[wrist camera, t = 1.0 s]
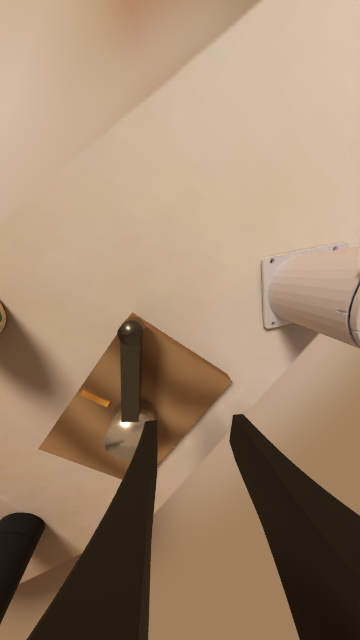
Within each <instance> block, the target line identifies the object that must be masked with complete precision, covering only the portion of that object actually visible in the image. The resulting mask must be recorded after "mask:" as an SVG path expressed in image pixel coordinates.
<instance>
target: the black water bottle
mask: <svg viewBox="0 0 360 640" xmlns="http://www.w3.org/2000/svg"><path fill="white" fill-rule="evenodd" d="M43 531H44V523H43V521H42V520H41V519H40V518H39V517H37V516H35V515H32V514H27V513H15V514H10V515H8V516H6V517H4V518H2V519H1V520H0V624H1V621H2V619H3V617H4V615H5V613H6V610H7V608H8V606H9V604H10V602H11V600H12V598H13V595H14V593H15V591H16V589H17V587H18V585H19V582H20V580H21V578H22V576H23V574H24V572H25V570H26V567H27V565H28V563H29V561H30V559H31V557H32V554H33V552H34V550H35V548H36V546H37V544H38V541H39V539H40V537H41V535H42V533H43Z"/></svg>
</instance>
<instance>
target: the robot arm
mask: <svg viewBox="0 0 360 640" xmlns="http://www.w3.org/2000/svg"><path fill="white" fill-rule="evenodd" d="M333 248H334V251H333ZM271 259H272V263H270V260H271ZM261 271H262V298H263V325H264V327H265V328H267V329H270V328H275V327H280V326H284V325H289V324H294V323H296V324H298V325H301V326H303V327H306V328H308V329H311V330H314V331H316V332H319V333H321V334H324V335H326V336H329V337H332V338H334V339H337V340H339V341H342V342H344V343H347V344H350V345H352V346H355V347H358V348H360V247H359V248H351V249H348V243H346V242H343V243H337V244H332V245H327V246H322V247H316V248H311V249H306V250H301V251H296V252H290V253H285V254H280V255H275V256H269V257H265V258H263V259H262V261H261ZM272 322H274V323H273V325H271V323H272ZM230 445H231V448H232V451H233V454H234V458H235V461H236V463H237V466H238V468H239V470H240V473H241V475H242V478H243V480H244V483H245V485H246V487H247V490H248V492H249V495H250V497H251V499H252V502H253V504H254V506H255V509H256V511H257V514H258V516H259V519H260V521H261V523H262V526H263V529H264V532H265V535H266V537H267V540H268V543H269V546H270V549H271V552H272V555H273V558H274V561H275V564H276V567H277V570H278V573H279V576H280V579H281V582H282V585H283V588H284V591H285V594H286V597H287V600H288V604H289V607H290V610H291V613H292V616H293V619H294V623H295V626H296V629H297V632H298V635H299V638H300V640H360V516H359V515H358V514H356V513H355V512H354V511H352V510H351V509H350V508H348V507H347V506H345V505H344V504H343V503H341V502H340V501H339V500H338V499H336V498H335V497H334V496H332V495H331V494H330V493H328V492H327V491H326V490H325V489H323V488H322V487H321V486H320V485H318V484H317V483H316V482H315V481H313V480H312V479H311V478H310V477H309V476H307V475H306V474H305V473H304V472H303V471H301V470H300V469H299V468H298V467H297V466H296V465H295V464H293V463H292V462H291V461H290V460H289V459H288V458H287V457H286V456H285V455H284V454H282V453H281V452H280V451H279V450H278V449H277V448H276V447H275V446H274V445H273V444H272V443H271V442H270V441H269V440H268V439H267V438H266V437H265V436H264V435H263V434H262V433H261V432H260V431H259V430H258V429H257V428H256V427H255V426H254V425H253V424H252V423H251V422H250V421H249V420H248V419H247V418H246V417H245V416H244V415H243V414H237V415H233V419H232V426H231V433H230ZM157 456H158V436H157V420H151V421H146V422H145V423H144V427H143V431H142V434H141V437H140V440H139V443H138V445H137V448H136V450H135V453H134V455H133V458H132V460H131V462H130V465H129V467H128V469H127V471H126V473H125V476H124V478H123V480H122V482H121V484H120V486H119V488H118V490H117V492H116V494H115V496H114V498H113V500H112V502H111V504H110V506H109V508H108V509H107V511H106V513H105V515H104V517H103V519H102V520H101V522H100V524H99V526H98V527H97V529H96V531H95V533H94V534H93V536H92V538H91V540H90V541H89V543H88V545H87V546H86V548H85V550H84V551H83V553H82V555H81V556H80V558H79V560H78V561H77V563H76V564H75V566H74V568H73V569H72V571H71V572H70V574H69V576H68V577H67V579H66V580H65V582H64V584H63V585H62V587H61V588H60V590H59V592H58V593H57V595H56V596H55V598H54V599H53V601H52V602H51V604H50V606H49V607H48V609H47V610H46V612H45V613H44V615H43V616H42V618H41V619H40V621H39V622H38V624H37V625H36V626H35V628H34V630H33V631H32V632H31V634H30V636H29V637H28V639H27V640H148V626H149V592H150V591H149V590H150V561H151V538H152V524H153V513H154V502H155V490H156V479H157Z"/></svg>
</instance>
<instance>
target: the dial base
mask: <svg viewBox="0 0 360 640" xmlns="http://www.w3.org/2000/svg"><path fill="white" fill-rule="evenodd" d="M130 317H138V316H137V315H135V314H134V313H132V314H131V315H130V316H129V318H130ZM138 318H140V317H138ZM140 319H141V318H140ZM141 320H142V321H143V322H144V325H145V330H144V333H143V341H142V386H141V400H142V401H145V402H147V403H149V404H150V405H151V406H152V407H153V408H154V410H155V412H156V420H157V436H158V456H157V465H158V464H159V463H160V462H161V461H162V459H163V458H164V457H165V456H166V455H167V454H168V453H169V452H170V450H171V449H172V448H173V447H174V446H175V445H176V444H177V443H178V441H179V440H180V439H181V438H182V437H183V436H184V435H185V434H186V432H187V431H188V430H189V429H190V428H191V427H192V426H193V425H194V423H195V422H196V421H197V420H198V419H199V418H200V417H201V416H202V414H203V413H204V412H205V411H206V410H207V409H208V408H209V407H210V405H211V404H212V403H213V402H214V401H215V400H216V399H217V398H218V396H219V395H220V394H221V393H222V392H223V391H224V390H225V389H226V387H227V386H228V385H229V384H230V383H231V382H232V381H231V379H230V378H229V376H228V375H227V374H226V373H225V372H223V371H222V370H220V369H219V368H217V367H215V366H214V365H212V364H211V363H209V362H208V361H206V360H205V359H203V358H202V357H200V356H198V355H197V354H195V353H194V352H192V351H191V350H189V349H188V348H186V347H185V346H183V345H182V344H180V343H178V342H177V341H175V340H174V339H172V338H171V337H169V336H168V335H166V334H165V333H163V332H161V331H160V330H158V329H157V328H155V327H154V326H152V325H151V324H149V323H148V322H146V321H145V320H143V319H141ZM120 404H121V368H120V341H119V339H118V336H117V335H116V337H115V338H114V340H113V341H112V343H111V344H110V346H109V347H108V348H107V350H106V351H105V353H104V354H103V356H102V357H101V359H100V360H99V362H98V363H97V364H96V366H95V367H94V369H93V370H92V372H91V373H90V375H89V376H88V378H87V379H86V380H85V382H84V383H83V385H82V386H81V388H80V389H79V391H78V392H77V393H76V395H75V396H74V398H73V399H72V401H71V402H70V404H69V405H68V407H67V408H66V409H65V411H64V412H63V414H62V415H61V417H60V418H59V420H58V421H57V423H56V424H55V425H54V427H53V428H52V430H51V431H50V433H49V434H48V436H47V437H46V439H45V440H44V441H43V443H42V444H41V446H40V447H39V449H40V450H43V451H46V452H48V453H51V454H54V455H56V456H59V457H62V458H65V459H67V460H70V461H73V462H76V463H78V464H81V465H84V466H87V467H89V468H92V469H95V470H98V471H100V472H103V473H106V474H109V475H111V476H114V477H117V478H119V479H122V480H123V478H124V476H125V473H126V471H127V469H128V467H129V465H130V462H131V460H120V459H117V458H115V457H113V456H112V455H110V454H109V453H108V452H107V450H106V449H105V446H104V438H105V435H106V433H107V430H108V427H109V424H110V421H111V418H112V415H113V413H114V410H115V409H116V407H117V406H118V405H120Z"/></svg>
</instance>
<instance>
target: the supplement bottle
mask: <svg viewBox="0 0 360 640" xmlns="http://www.w3.org/2000/svg"><path fill="white" fill-rule="evenodd" d="M5 324H6V314H5V311H4V309H3V307H2V305H1V303H0V332H1V331H2V330H3V328H4V327H5Z"/></svg>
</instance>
